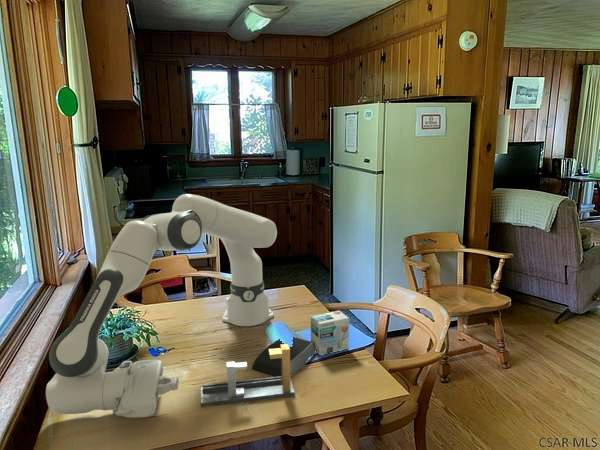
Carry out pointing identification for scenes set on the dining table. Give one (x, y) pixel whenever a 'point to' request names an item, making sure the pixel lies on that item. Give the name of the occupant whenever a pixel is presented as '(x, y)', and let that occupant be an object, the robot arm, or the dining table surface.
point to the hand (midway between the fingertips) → (178, 383)
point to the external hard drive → (273, 366)
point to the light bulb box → (330, 332)
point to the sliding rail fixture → (254, 385)
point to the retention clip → (234, 378)
